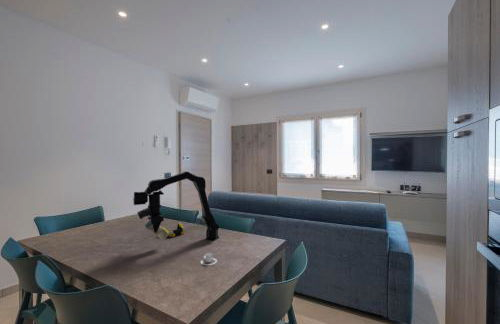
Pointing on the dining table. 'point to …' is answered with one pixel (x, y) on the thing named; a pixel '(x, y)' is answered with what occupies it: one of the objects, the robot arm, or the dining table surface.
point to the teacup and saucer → (208, 259)
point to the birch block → (160, 233)
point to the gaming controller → (176, 231)
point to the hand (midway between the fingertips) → (154, 231)
